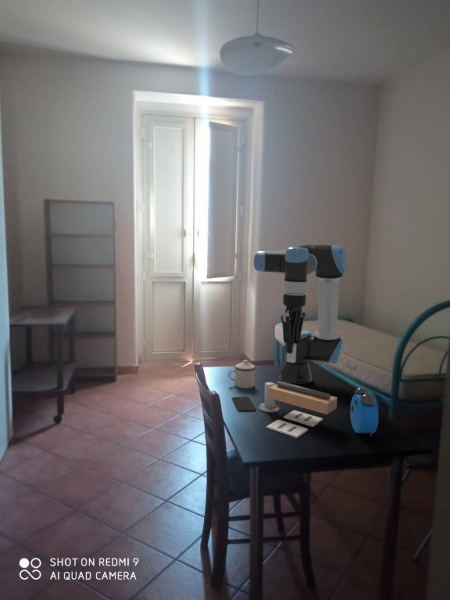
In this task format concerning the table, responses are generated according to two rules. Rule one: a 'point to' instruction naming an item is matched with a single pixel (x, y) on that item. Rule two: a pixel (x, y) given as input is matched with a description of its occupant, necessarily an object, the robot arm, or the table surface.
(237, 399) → the phone
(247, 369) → the teacup with lid
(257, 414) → the table surface
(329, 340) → the robot arm
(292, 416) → the plate
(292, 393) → the wooden beam with rod
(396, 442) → the table surface
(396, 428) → the table surface
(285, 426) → the plate
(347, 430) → the table surface
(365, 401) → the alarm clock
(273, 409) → the base
